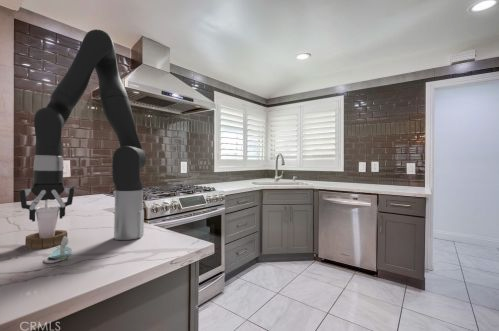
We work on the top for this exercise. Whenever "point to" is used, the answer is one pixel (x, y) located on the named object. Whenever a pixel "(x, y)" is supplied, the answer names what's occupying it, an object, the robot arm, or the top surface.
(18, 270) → the top surface
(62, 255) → the pacifier
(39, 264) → the top surface
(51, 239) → the brown polygonal ring
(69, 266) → the top surface
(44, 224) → the smoothie
